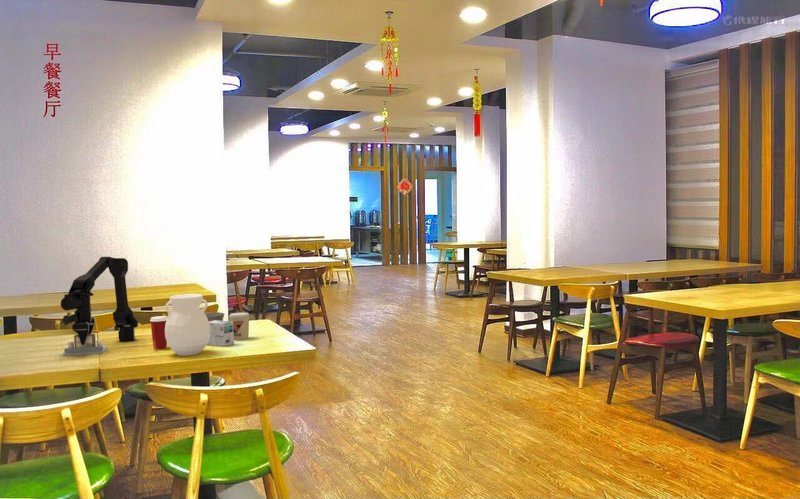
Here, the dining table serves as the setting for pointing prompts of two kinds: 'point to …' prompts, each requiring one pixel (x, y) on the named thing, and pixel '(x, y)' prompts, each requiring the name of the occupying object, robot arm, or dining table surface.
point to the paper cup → (158, 332)
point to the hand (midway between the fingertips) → (85, 342)
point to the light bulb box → (221, 333)
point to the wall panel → (84, 349)
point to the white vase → (187, 324)
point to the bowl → (214, 316)
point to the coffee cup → (240, 325)
